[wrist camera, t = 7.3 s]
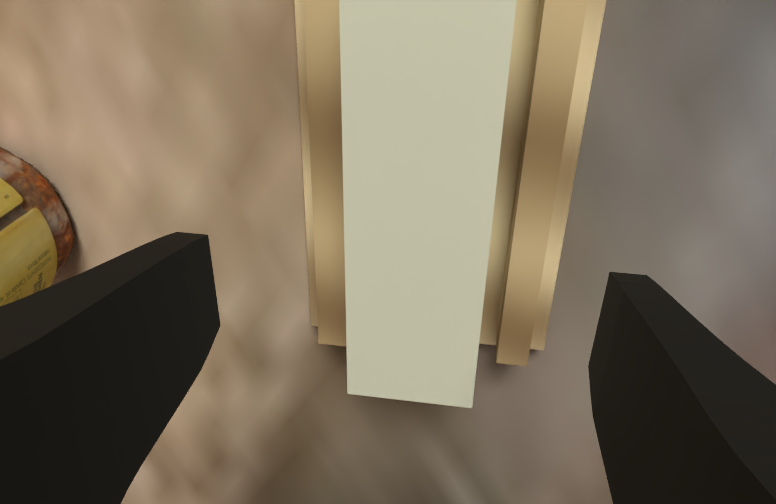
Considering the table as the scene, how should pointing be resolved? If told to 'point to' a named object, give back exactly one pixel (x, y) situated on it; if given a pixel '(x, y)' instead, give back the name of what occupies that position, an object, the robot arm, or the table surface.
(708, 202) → the table surface
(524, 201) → the tan flat piece
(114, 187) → the table surface
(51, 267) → the sauce bottle
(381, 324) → the cream rectangular block
